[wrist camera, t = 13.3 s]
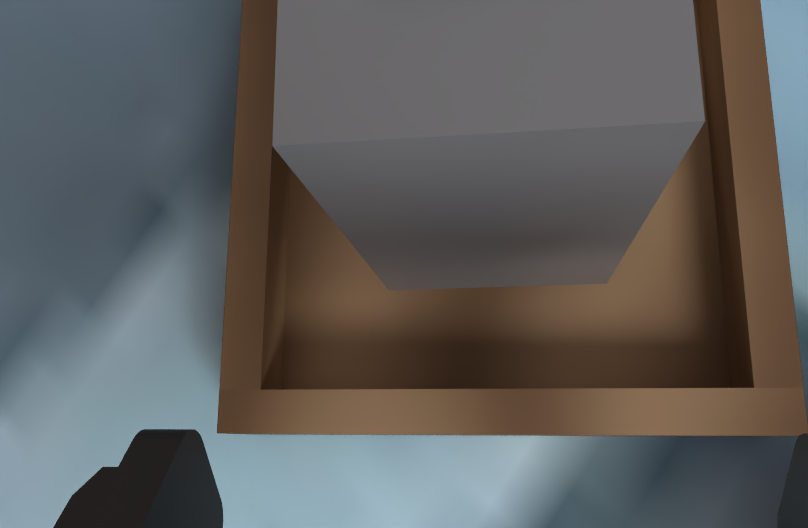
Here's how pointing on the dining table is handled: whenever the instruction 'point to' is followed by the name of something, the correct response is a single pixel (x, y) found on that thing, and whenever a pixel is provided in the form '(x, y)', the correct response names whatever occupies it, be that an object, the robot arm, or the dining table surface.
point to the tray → (523, 295)
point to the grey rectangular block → (487, 130)
